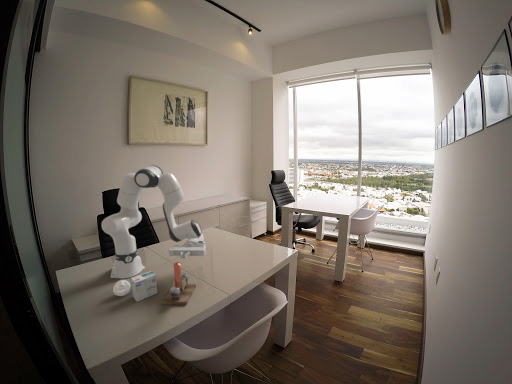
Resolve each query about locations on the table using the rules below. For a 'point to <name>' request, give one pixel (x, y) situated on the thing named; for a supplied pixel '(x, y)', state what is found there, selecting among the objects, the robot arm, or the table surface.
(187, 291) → the mounting board
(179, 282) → the lever
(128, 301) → the table surface
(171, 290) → the valve pipe
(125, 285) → the white frosted cupcake
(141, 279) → the light bulb box
